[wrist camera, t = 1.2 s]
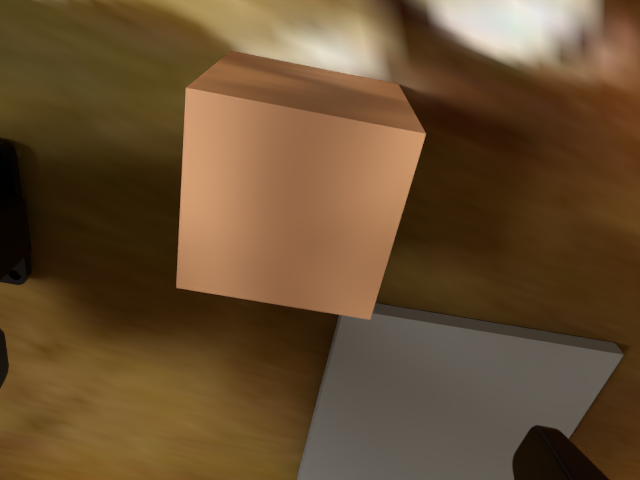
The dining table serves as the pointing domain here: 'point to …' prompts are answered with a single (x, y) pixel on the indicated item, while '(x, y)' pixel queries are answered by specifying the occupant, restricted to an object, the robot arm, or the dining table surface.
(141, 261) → the dining table surface
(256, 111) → the cube
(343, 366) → the mat
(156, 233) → the dining table surface
